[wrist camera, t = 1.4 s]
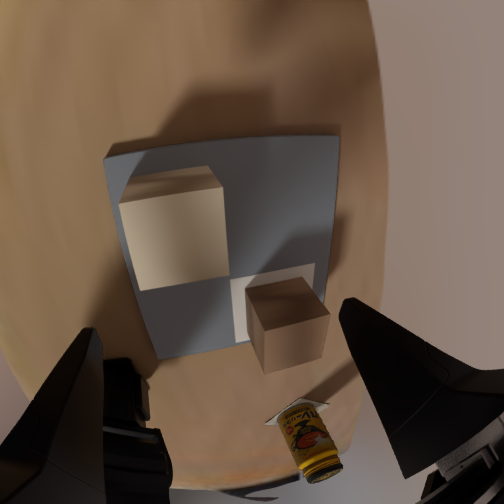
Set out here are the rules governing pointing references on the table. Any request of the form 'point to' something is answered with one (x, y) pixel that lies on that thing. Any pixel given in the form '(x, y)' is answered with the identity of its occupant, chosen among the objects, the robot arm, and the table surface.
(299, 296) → the walnut block
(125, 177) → the grey base plate
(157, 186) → the birch block
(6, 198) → the table surface
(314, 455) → the condiment
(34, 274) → the table surface
